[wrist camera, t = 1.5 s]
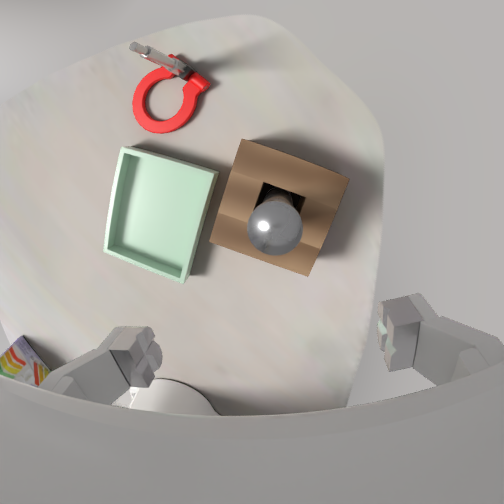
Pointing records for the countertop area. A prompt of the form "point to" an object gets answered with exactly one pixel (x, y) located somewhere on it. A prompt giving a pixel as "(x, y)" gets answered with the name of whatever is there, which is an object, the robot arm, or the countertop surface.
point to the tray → (157, 211)
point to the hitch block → (286, 177)
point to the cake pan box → (23, 364)
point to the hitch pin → (275, 224)
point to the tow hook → (167, 71)
